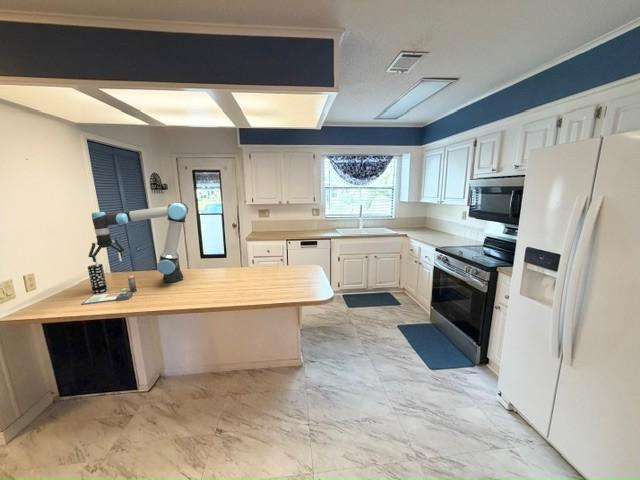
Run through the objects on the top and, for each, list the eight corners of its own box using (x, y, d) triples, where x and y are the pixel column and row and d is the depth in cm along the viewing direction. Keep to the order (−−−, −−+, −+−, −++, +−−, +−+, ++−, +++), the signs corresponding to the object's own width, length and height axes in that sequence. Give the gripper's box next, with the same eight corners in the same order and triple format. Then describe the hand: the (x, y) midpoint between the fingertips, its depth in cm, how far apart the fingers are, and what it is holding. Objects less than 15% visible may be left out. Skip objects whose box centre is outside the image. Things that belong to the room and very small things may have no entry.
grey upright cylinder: (137, 290, 199) (135, 274, 196) (135, 292, 195) (132, 276, 192) (131, 290, 198) (128, 275, 195) (129, 292, 194) (126, 277, 191)
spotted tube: (90, 294, 192) (84, 268, 188) (96, 290, 200) (91, 264, 196) (104, 293, 194) (98, 266, 190) (109, 288, 202) (104, 263, 198)
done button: (128, 293, 186) (127, 287, 185) (126, 295, 182) (125, 289, 182) (122, 294, 185) (121, 288, 184) (120, 296, 182) (119, 290, 181)
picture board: (125, 292, 195) (125, 291, 195) (116, 300, 181) (116, 299, 181) (93, 296, 189) (92, 294, 189) (81, 305, 175) (81, 303, 175)
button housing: (132, 295, 188) (132, 291, 188) (128, 299, 182) (128, 295, 181) (121, 297, 187) (120, 293, 186) (117, 301, 180) (116, 297, 179)
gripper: (121, 230, 197) (127, 258, 202) (78, 237, 178) (85, 267, 183) (125, 231, 193) (131, 259, 197) (81, 238, 174) (88, 269, 178)
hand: (109, 263), depth 190 cm, fingers open, 13 cm apart
